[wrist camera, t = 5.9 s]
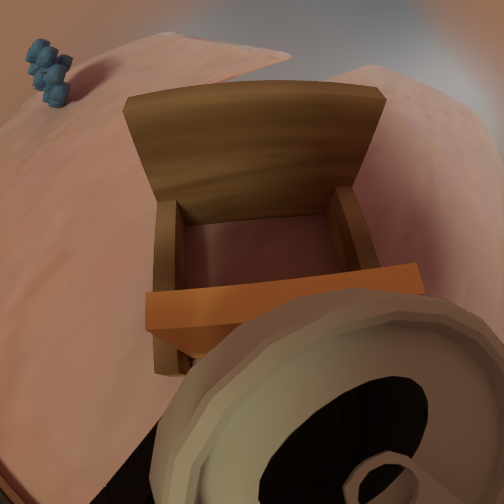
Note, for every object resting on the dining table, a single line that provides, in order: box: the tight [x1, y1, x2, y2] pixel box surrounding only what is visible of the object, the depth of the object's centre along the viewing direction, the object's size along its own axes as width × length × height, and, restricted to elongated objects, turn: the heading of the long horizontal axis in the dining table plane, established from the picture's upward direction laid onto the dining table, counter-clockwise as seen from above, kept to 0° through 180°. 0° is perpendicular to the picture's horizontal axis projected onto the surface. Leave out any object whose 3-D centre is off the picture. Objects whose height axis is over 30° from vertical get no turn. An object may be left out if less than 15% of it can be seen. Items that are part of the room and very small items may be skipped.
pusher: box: [145, 262, 426, 358], centre depth 12 cm, size 1×9×8 cm, turn 97°
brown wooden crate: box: [123, 80, 387, 376], centre depth 13 cm, size 11×12×10 cm
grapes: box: [25, 39, 73, 108], centre depth 24 cm, size 12×7×12 cm, turn 54°
